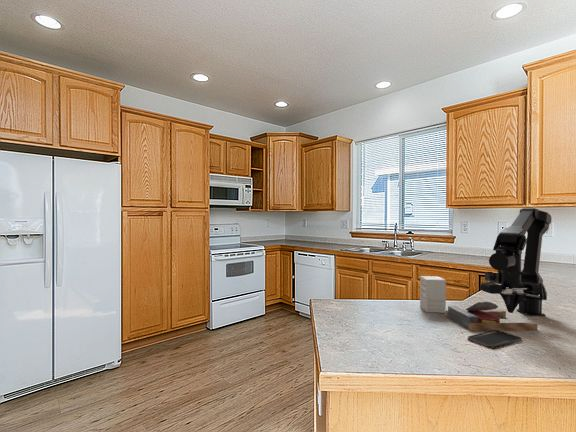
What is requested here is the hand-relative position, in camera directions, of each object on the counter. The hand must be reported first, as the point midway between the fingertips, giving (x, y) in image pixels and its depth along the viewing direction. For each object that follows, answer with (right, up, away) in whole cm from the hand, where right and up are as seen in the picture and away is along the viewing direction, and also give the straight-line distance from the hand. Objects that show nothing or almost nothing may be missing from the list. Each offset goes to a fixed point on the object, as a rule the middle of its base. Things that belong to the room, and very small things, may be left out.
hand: (510, 312), depth 109 cm
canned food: (-10, -4, -1) cm, 11 cm away
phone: (-16, -4, -16) cm, 23 cm away
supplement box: (-21, -3, +14) cm, 25 cm away
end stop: (-17, -3, -1) cm, 18 cm away
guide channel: (-8, -3, -1) cm, 9 cm away
